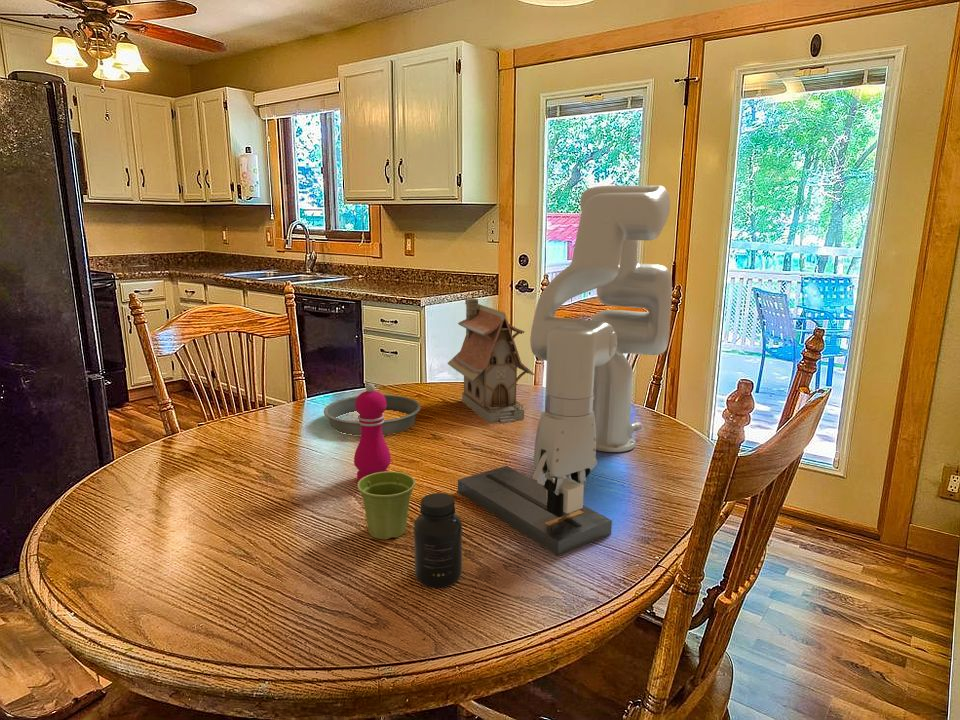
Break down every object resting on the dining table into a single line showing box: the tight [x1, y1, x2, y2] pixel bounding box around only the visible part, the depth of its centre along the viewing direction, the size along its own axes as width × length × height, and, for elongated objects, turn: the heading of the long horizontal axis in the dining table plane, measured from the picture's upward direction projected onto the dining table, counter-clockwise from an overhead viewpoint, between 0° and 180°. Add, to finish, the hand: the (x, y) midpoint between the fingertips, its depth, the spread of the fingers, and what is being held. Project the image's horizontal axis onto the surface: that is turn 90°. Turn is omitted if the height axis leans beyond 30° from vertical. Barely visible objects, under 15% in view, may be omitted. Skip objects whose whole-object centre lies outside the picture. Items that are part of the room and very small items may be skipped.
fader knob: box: [546, 475, 585, 516], centre depth 99 cm, size 5×4×6 cm
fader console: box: [457, 465, 613, 557], centre depth 107 cm, size 28×12×3 cm, turn 36°
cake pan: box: [323, 394, 422, 436], centre depth 154 cm, size 25×25×4 cm
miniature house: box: [447, 297, 535, 425], centre depth 163 cm, size 18×24×30 cm
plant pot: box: [357, 470, 416, 540], centre depth 99 cm, size 9×9×9 cm
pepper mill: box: [353, 382, 392, 483], centre depth 117 cm, size 7×7×20 cm
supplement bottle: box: [413, 492, 463, 589], centre depth 86 cm, size 7×7×12 cm
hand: (564, 509), depth 99 cm, fingers closed on fader knob, 3 cm apart
